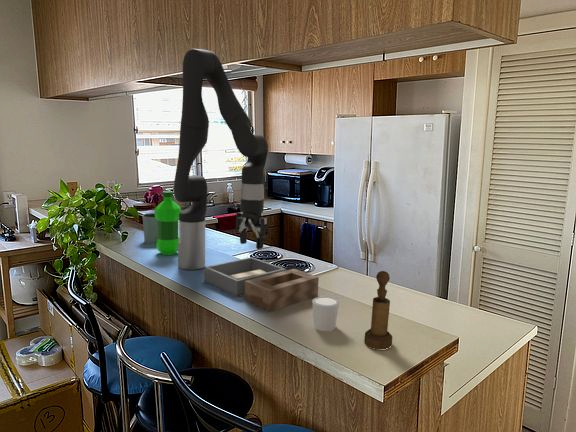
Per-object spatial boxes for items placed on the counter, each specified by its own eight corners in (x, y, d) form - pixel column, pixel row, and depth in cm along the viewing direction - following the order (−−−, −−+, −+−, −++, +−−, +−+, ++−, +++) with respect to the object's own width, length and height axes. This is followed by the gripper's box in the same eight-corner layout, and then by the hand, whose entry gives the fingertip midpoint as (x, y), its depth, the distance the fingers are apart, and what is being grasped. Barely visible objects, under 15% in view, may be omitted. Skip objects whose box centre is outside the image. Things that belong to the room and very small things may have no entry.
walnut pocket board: (268, 311, 123) (269, 291, 122) (244, 300, 131) (244, 281, 129) (317, 295, 136) (318, 277, 135) (292, 286, 144) (293, 268, 143)
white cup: (318, 334, 110) (320, 307, 109) (306, 323, 116) (307, 297, 115) (342, 330, 113) (344, 304, 111) (329, 319, 119) (331, 294, 118)
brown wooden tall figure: (392, 352, 102) (398, 277, 99) (363, 348, 103) (368, 274, 100) (391, 339, 108) (397, 268, 105) (364, 336, 110) (369, 266, 106)
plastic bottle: (175, 257, 173) (174, 194, 168) (150, 255, 174) (149, 192, 170) (186, 251, 182) (185, 191, 178) (162, 249, 184) (161, 189, 180)
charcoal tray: (237, 297, 133) (237, 281, 132) (204, 281, 146) (204, 267, 145) (285, 283, 147) (286, 269, 146) (251, 270, 159) (251, 257, 159)
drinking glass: (155, 237, 204) (155, 212, 202) (171, 240, 199) (171, 214, 197) (137, 241, 195) (137, 215, 193) (154, 245, 190) (153, 217, 188)
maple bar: (236, 286, 141) (236, 278, 141) (229, 282, 144) (229, 275, 144) (266, 279, 148) (266, 272, 148) (259, 276, 152) (260, 269, 151)
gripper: (229, 195, 145) (229, 243, 148) (257, 201, 135) (256, 252, 138) (247, 194, 150) (246, 240, 153) (275, 199, 140) (274, 248, 143)
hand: (251, 246), depth 146 cm, fingers open, 8 cm apart
